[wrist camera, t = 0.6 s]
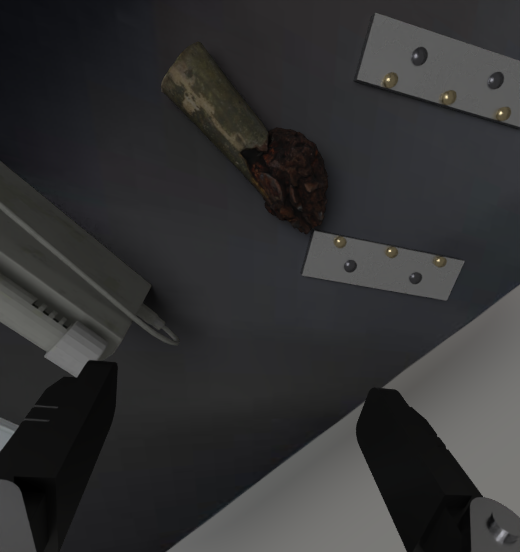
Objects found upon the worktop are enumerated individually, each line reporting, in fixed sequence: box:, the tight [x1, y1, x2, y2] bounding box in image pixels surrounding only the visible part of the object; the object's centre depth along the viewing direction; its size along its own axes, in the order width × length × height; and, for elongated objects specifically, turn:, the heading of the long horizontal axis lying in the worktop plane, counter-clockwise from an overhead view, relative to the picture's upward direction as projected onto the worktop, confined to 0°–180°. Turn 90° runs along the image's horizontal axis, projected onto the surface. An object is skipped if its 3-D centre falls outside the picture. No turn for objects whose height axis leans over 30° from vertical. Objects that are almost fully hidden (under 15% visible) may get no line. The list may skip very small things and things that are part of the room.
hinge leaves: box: [300, 13, 520, 301], centre depth 33 cm, size 24×18×1 cm
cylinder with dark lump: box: [161, 42, 328, 234], centre depth 29 cm, size 18×7×6 cm, turn 42°
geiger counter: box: [0, 161, 179, 378], centre depth 26 cm, size 14×6×25 cm
